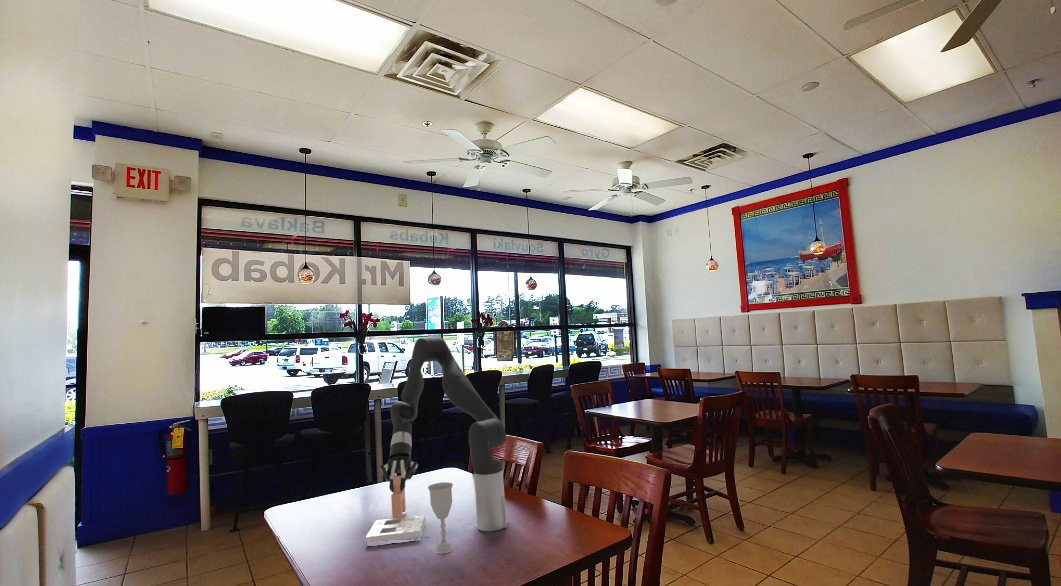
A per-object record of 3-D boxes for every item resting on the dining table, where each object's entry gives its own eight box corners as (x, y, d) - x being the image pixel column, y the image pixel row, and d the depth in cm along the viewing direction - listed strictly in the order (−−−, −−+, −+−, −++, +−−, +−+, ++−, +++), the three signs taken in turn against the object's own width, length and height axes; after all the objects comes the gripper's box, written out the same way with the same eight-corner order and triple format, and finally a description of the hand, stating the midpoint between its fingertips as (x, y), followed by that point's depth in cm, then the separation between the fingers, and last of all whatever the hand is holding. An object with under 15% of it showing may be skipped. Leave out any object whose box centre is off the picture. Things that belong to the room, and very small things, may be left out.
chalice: (459, 544, 145) (455, 481, 146) (453, 554, 138) (449, 488, 140) (435, 545, 145) (431, 483, 147) (428, 555, 139) (424, 490, 140)
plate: (425, 524, 164) (425, 514, 164) (420, 540, 150) (419, 530, 150) (376, 529, 162) (375, 520, 162) (366, 547, 148) (365, 537, 148)
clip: (406, 512, 176) (403, 472, 178) (401, 522, 167) (399, 480, 168) (397, 513, 176) (395, 473, 177) (392, 523, 167) (390, 481, 168)
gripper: (380, 443, 181) (374, 487, 167) (418, 439, 182) (415, 482, 169) (383, 454, 185) (378, 498, 172) (421, 450, 187) (418, 494, 173)
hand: (397, 490), depth 170 cm, fingers closed on clip, 2 cm apart
